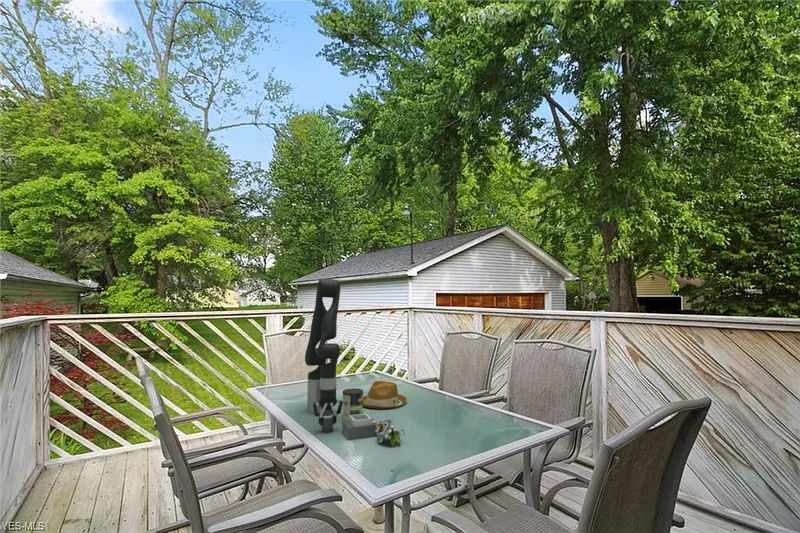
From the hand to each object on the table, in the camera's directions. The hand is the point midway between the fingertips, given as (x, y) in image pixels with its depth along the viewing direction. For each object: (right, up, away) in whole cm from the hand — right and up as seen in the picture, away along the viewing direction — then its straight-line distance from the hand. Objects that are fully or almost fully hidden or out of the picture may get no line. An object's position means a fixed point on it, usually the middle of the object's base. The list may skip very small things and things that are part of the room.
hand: (327, 424), depth 182 cm
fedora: (+23, -6, +45) cm, 51 cm away
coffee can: (+10, -4, +16) cm, 19 cm away
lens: (0, -3, 0) cm, 3 cm away
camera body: (+15, -3, -4) cm, 16 cm away
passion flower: (+28, -3, -13) cm, 31 cm away
